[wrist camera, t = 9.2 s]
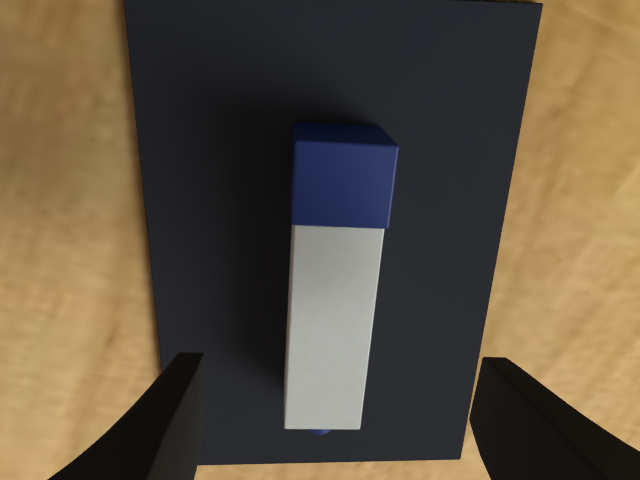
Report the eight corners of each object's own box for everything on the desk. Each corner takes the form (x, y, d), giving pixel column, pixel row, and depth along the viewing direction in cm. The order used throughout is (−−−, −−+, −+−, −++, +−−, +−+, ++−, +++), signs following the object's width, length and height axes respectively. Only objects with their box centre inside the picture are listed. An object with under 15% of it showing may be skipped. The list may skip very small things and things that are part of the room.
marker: (351, 400, 22) (360, 455, 19) (280, 400, 22) (280, 455, 19) (382, 126, 17) (399, 145, 15) (293, 121, 17) (295, 140, 14)
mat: (172, 460, 23) (171, 466, 23) (124, -13, 16) (121, -14, 15) (458, 454, 24) (460, 459, 24) (538, 3, 17) (543, 3, 16)
